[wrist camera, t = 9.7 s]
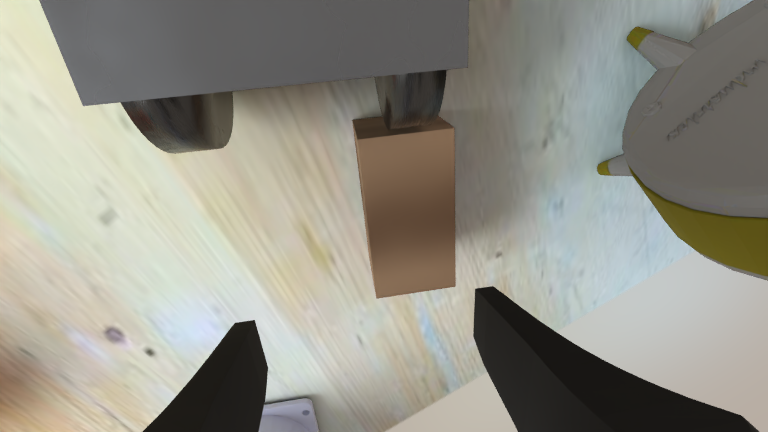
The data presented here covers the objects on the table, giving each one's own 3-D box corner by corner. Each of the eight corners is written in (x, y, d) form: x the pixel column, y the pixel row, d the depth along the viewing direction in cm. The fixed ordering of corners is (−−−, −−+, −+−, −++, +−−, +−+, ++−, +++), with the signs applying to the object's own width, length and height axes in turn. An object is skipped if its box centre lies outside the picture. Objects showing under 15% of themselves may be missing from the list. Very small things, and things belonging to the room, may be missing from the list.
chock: (352, 119, 19) (357, 139, 15) (431, 110, 19) (454, 128, 16) (369, 256, 23) (376, 298, 19) (435, 246, 23) (455, 286, 19)
